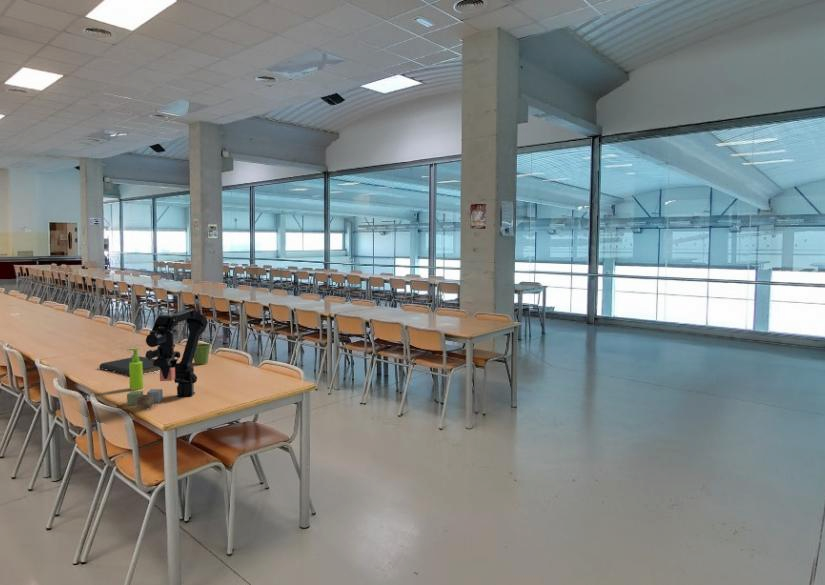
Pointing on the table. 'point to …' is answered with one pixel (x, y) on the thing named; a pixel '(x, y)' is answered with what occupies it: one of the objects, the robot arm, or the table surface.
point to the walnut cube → (144, 401)
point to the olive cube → (133, 397)
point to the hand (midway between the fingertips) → (167, 377)
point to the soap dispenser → (136, 371)
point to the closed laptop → (123, 365)
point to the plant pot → (201, 353)
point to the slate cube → (156, 394)
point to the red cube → (170, 375)
